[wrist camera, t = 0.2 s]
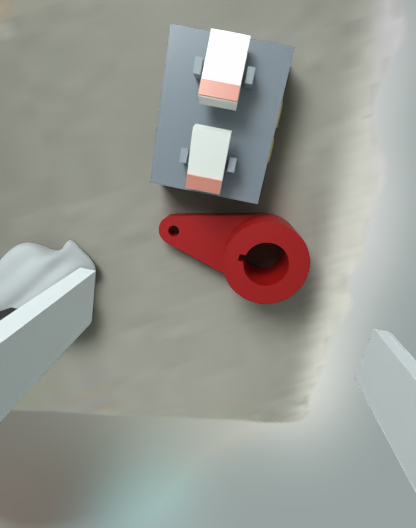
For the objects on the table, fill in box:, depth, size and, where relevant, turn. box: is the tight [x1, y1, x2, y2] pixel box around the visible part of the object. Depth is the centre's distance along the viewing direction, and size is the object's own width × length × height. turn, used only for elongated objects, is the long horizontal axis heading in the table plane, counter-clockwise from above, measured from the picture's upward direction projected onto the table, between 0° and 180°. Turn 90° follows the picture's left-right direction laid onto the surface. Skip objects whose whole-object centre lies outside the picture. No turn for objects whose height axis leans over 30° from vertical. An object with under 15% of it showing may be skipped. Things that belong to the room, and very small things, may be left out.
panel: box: [150, 24, 294, 204], centre depth 34 cm, size 15×12×7 cm
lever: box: [159, 213, 310, 304], centre depth 39 cm, size 18×9×7 cm, turn 76°
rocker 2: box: [185, 124, 232, 195], centre depth 32 cm, size 6×4×2 cm, turn 169°
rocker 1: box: [198, 28, 251, 111], centre depth 30 cm, size 6×4×2 cm, turn 169°
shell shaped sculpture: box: [0, 240, 96, 311], centre depth 43 cm, size 13×13×6 cm
